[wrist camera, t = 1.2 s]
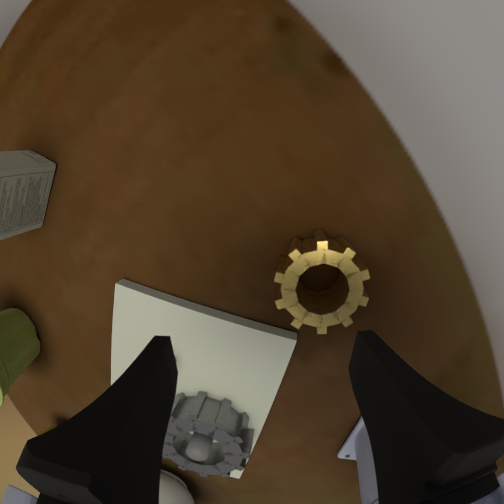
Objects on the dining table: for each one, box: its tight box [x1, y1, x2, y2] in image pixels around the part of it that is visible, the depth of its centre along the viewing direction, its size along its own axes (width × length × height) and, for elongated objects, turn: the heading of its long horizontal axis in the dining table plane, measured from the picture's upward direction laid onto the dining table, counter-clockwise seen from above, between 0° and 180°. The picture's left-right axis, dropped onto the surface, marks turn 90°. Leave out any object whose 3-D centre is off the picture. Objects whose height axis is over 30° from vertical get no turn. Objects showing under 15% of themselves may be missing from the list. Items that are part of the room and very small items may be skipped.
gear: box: [162, 391, 254, 477], centre depth 23 cm, size 8×8×3 cm
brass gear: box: [274, 229, 370, 334], centre depth 19 cm, size 6×6×4 cm
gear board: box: [111, 279, 297, 479], centre depth 23 cm, size 14×18×5 cm
